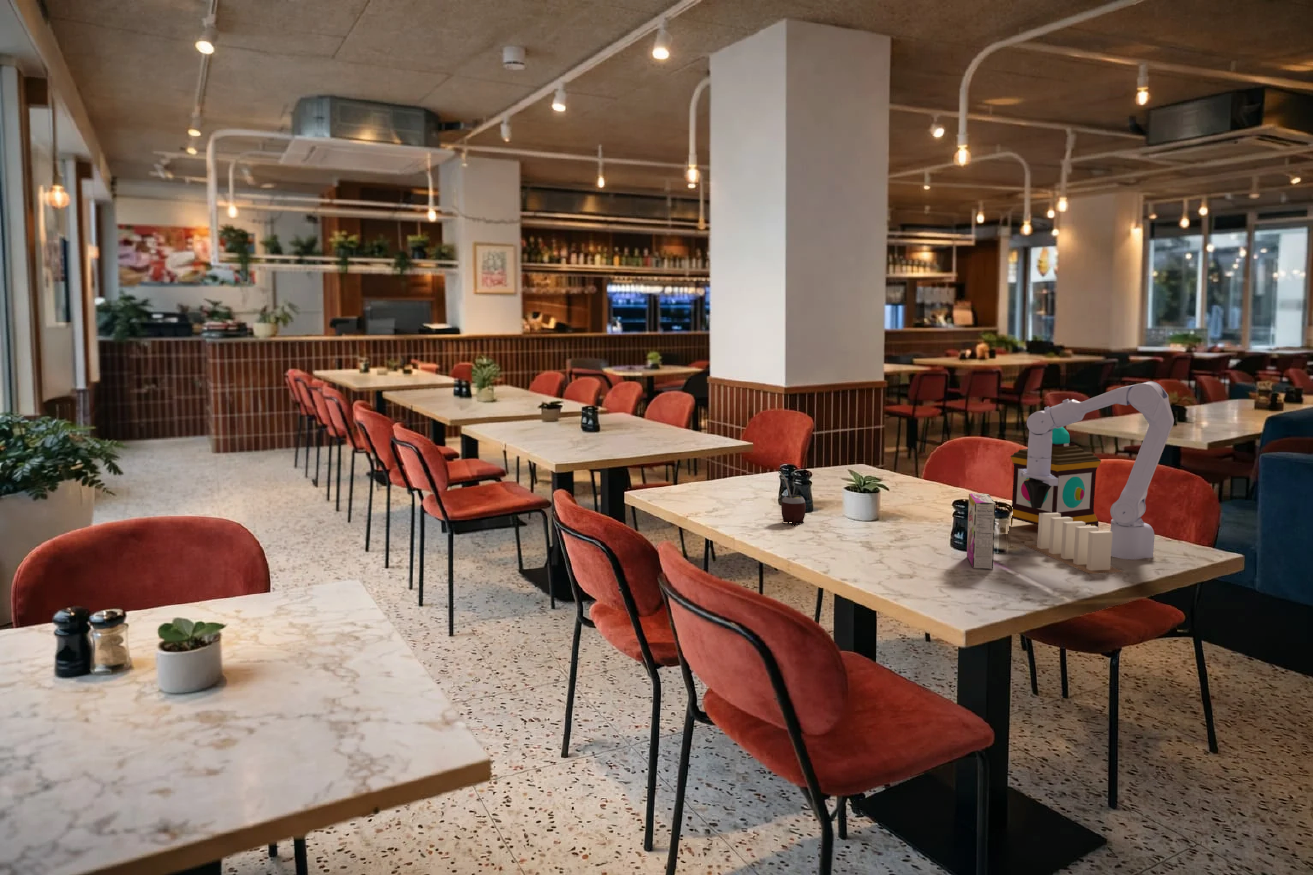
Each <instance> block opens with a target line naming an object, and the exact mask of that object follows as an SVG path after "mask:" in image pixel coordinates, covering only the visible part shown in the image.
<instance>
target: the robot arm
mask: <svg viewBox="0 0 1313 875" xmlns="http://www.w3.org/2000/svg"><path fill="white" fill-rule="evenodd" d="M1116 404H1117V405H1122V406H1129V405H1131V406H1132V407H1133V408H1134V409H1135V410H1136V411H1138V412H1139V413H1140V414H1142V416H1143V417H1144V419H1145V421H1147V424H1148V428H1147V429H1146V432H1145V435H1144V438H1143V440H1142V443H1141V445H1140V448H1139V450H1138V454H1137V455H1136V458H1135V460H1134V463H1133V466H1132V467H1131V471H1130V474H1129V476H1128V479H1127V481H1126V484H1125V486H1124V487H1123V489H1122V491H1121V493H1120V495H1119V498H1118V499H1117V500H1116V501H1114V502H1113V503H1112V505H1111V507H1110V510H1109V511H1110V513H1109V514H1110V516H1111V518H1112V519H1110V530H1109V531H1110V532H1113V533H1112V548H1111V557H1114V558H1118V559H1122V560H1141V559H1153V558H1154V551H1155V550H1154V548H1155V530H1154V529H1153V527H1152V526H1151V524H1149V523H1146V522H1145V521H1143V519H1142V518H1141V517H1142V516H1143V515H1144V514H1146V513H1145V512H1146V510H1147V505H1146V499H1147V496H1148V489H1149V487H1150V484H1151V481H1152V479H1153V476H1154V474H1155V473H1156V472H1155V471H1156V469H1157V466H1158V465H1159V462H1160V460H1161V457H1162V455H1163V454H1162V453H1163V452H1164V449H1165V447H1166V443H1167V441H1168V439H1169V436H1170V434H1171V431H1172V429H1173V426H1174V424H1175V423H1174V422H1175V419H1174V414H1173V411H1172V407H1171V403H1170V399H1169V394H1168V393H1167V392H1166V390H1165V389H1164V388H1163V386H1161V385H1160V383H1158V382H1156V381H1152V380H1150V381H1145V382H1142V383H1137V384H1132V385H1126V386H1122V387H1117V388H1115V389H1111V390H1110V391H1107V392H1104V393H1102V394H1099V395H1096V396H1093V397H1091V398H1088V399H1086V400H1084V401H1078V400H1077V399H1069V398H1067V399H1064V400H1062V402H1061V403H1059V404H1056V405H1052V406H1051V407H1050V406H1049V405H1048V406H1045V407H1044V410H1037V411H1035V412H1033V413H1031V414H1030V415H1029V416H1028V417H1027V419H1026V426H1027V429H1028V430H1029V431H1028V440H1027V442H1028V443H1027V449H1028V457H1027V469H1019V476H1021V477H1023V476H1024V477H1027V478H1029V480H1028V481H1024V485H1025V486H1026V488H1027V491H1028V494H1029V498H1030V503H1031V507H1032V508H1034V509H1036V508H1041V507H1042V505H1043V502H1044V499H1045V496H1046V494H1047V492H1048V491H1049V489H1050V488H1051V486H1058V478H1056V477H1054V476H1053V475H1051V474H1050V470H1051V453H1052V430H1053V429H1054V428H1060V427H1063V428H1064V427H1066V426H1069V425H1072V424H1074V423H1077V422H1081V421H1082V420H1083V419H1084V417H1085V415H1086V414H1088V413H1090V412H1094V411H1096V410H1099V409H1103V408H1106V407H1109V406H1112V405H1116Z"/></svg>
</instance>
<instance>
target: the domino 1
mask: <svg viewBox="0 0 1313 875" xmlns="http://www.w3.org/2000/svg"><path fill="white" fill-rule="evenodd" d="M1051 517H1061V514H1060V513H1039V524H1038V525H1037V526H1038V527H1037V528H1038V529H1037V542H1036V545H1037V547H1038V548H1040V549H1049V539H1050V522H1051Z"/></svg>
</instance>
